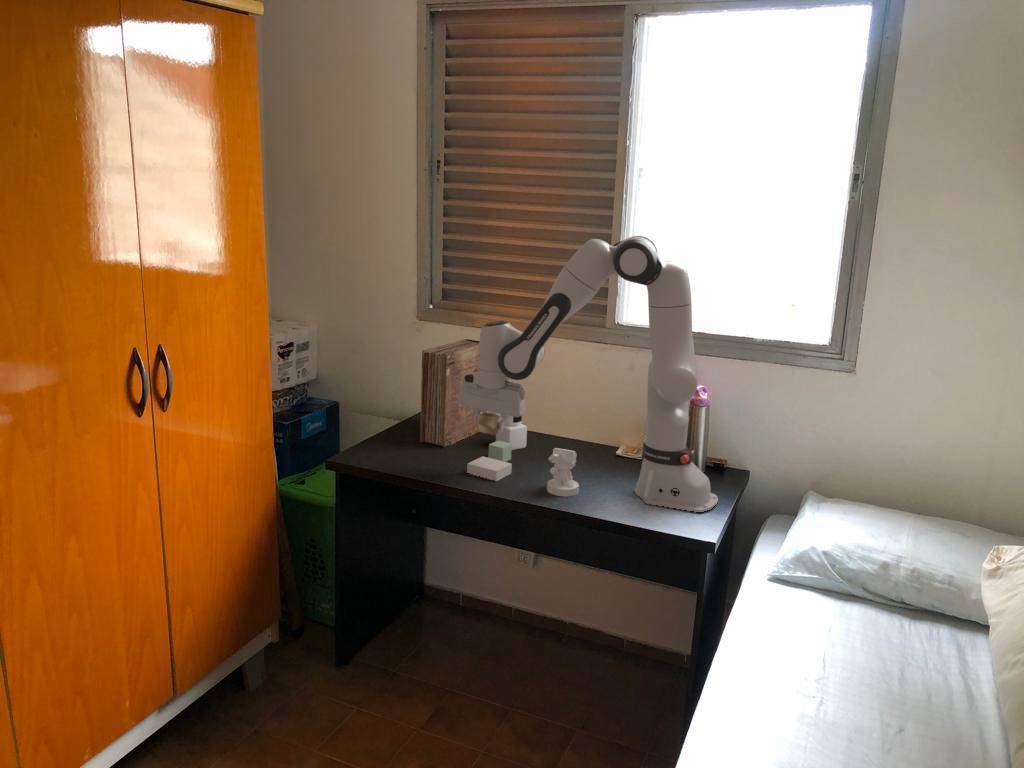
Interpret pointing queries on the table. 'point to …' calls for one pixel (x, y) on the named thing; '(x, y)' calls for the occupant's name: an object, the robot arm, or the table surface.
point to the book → (447, 393)
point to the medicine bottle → (513, 433)
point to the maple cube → (489, 423)
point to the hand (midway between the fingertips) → (490, 425)
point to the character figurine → (562, 473)
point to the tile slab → (489, 468)
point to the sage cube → (500, 451)
